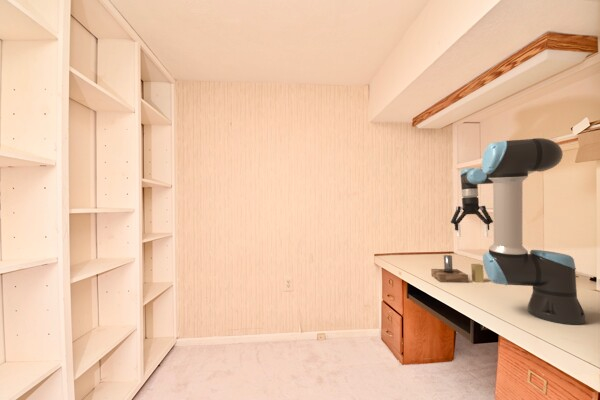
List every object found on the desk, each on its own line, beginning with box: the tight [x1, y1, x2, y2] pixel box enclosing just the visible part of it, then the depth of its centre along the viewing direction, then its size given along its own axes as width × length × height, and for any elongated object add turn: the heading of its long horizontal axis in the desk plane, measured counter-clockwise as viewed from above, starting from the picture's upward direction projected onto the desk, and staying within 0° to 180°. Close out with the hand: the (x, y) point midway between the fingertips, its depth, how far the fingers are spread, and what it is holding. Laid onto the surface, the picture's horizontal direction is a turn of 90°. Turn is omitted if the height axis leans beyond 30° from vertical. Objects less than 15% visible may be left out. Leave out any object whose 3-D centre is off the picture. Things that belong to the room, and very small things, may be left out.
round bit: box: [443, 254, 454, 273], centre depth 149 cm, size 4×4×12 cm
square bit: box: [470, 263, 485, 283], centre depth 143 cm, size 4×4×9 cm
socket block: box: [430, 268, 469, 283], centre depth 149 cm, size 14×14×4 cm
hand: (472, 236), depth 143 cm, fingers open, 13 cm apart
